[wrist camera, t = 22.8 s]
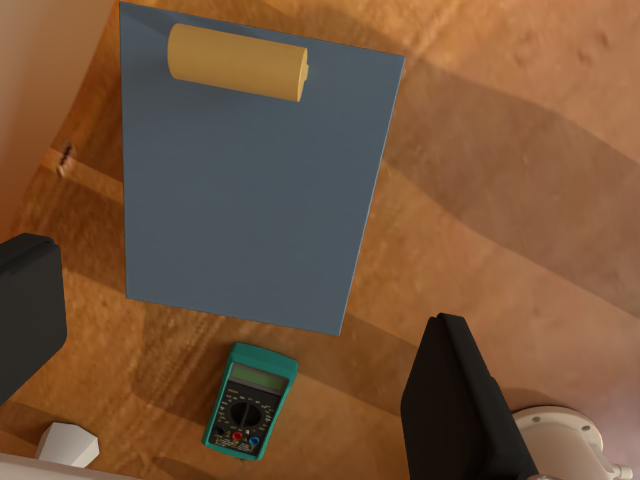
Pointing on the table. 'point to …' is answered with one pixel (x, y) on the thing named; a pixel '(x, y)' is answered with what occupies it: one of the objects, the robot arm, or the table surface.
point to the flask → (67, 445)
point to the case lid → (248, 165)
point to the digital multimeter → (249, 401)
